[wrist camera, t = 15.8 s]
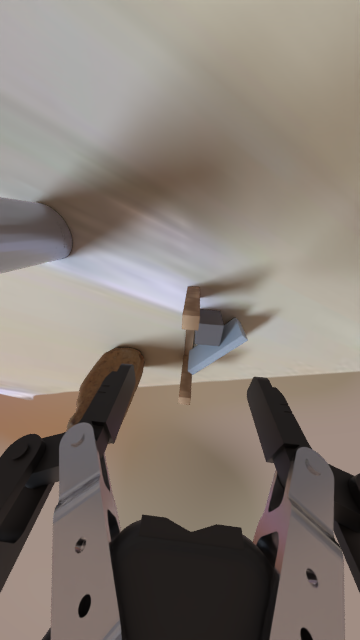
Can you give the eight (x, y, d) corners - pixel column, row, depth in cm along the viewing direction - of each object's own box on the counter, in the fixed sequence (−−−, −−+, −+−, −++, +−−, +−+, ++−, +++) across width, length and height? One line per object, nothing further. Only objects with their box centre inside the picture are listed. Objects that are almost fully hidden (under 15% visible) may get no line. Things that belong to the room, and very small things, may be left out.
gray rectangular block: (195, 327, 37) (194, 343, 32) (197, 308, 34) (196, 323, 29) (216, 329, 37) (219, 346, 32) (220, 310, 34) (223, 325, 29)
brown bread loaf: (147, 350, 42) (112, 433, 25) (145, 368, 46) (114, 452, 29) (108, 341, 42) (46, 420, 25) (109, 361, 46) (57, 440, 29)
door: (189, 351, 40) (187, 371, 35) (235, 317, 34) (242, 335, 28) (196, 357, 41) (196, 377, 36) (243, 325, 35) (251, 343, 29)
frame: (183, 361, 43) (178, 403, 33) (187, 286, 32) (182, 314, 22) (192, 362, 43) (189, 405, 33) (199, 287, 32) (199, 316, 22)
